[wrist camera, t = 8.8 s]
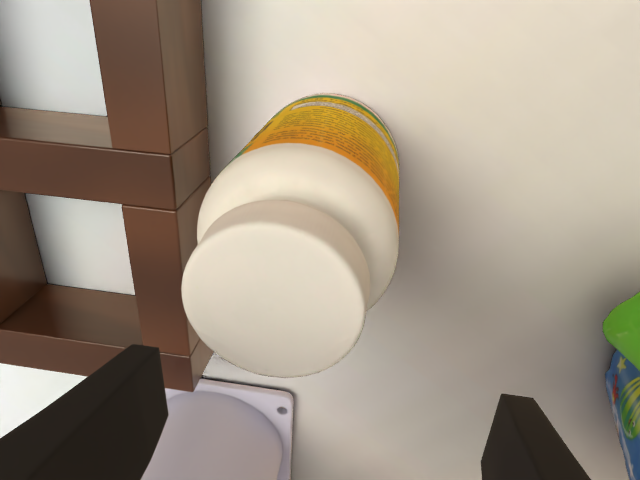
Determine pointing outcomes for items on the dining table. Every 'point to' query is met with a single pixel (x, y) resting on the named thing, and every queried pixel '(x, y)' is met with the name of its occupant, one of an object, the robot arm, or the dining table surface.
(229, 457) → the robot arm
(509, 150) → the dining table surface
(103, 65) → the holder
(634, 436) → the snack cup
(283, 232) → the supplement bottle
